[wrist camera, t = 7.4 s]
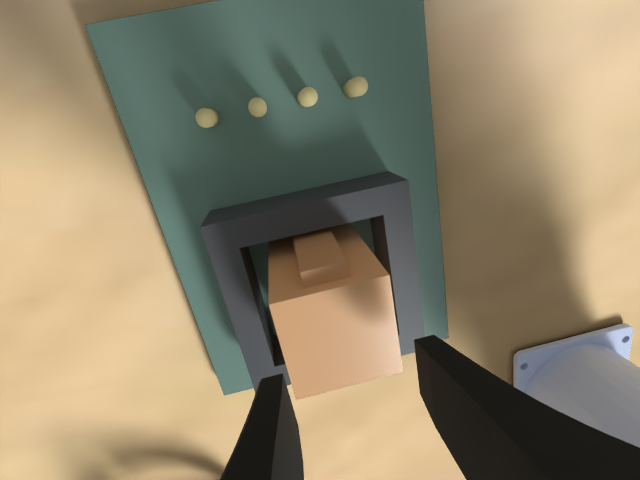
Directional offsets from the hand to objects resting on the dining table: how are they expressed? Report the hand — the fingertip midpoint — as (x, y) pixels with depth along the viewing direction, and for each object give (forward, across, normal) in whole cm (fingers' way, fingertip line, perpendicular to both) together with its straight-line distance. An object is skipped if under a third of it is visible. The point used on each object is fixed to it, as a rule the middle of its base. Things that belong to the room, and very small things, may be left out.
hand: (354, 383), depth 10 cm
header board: (+9, 0, -3) cm, 9 cm away
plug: (+8, 0, 0) cm, 8 cm away
